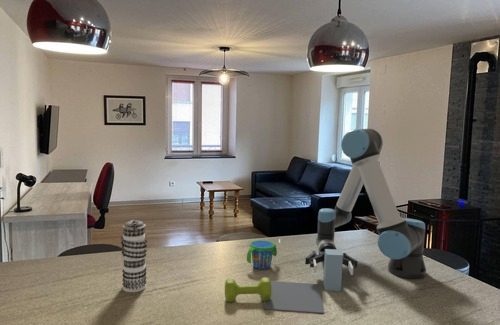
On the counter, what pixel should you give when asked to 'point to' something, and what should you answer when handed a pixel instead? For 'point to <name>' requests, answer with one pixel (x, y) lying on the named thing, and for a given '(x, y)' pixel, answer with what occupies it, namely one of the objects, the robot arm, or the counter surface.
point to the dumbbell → (248, 289)
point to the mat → (295, 297)
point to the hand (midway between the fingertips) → (333, 270)
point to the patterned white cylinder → (134, 256)
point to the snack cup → (261, 253)
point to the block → (332, 269)
